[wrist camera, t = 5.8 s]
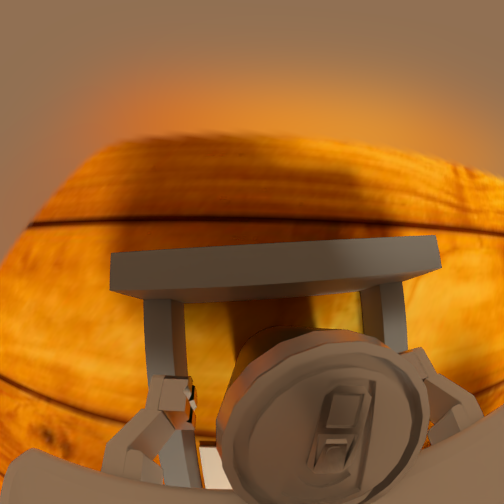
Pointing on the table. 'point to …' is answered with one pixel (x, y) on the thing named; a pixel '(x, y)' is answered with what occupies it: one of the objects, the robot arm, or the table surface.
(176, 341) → the bay
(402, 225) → the table surface
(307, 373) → the beer can
